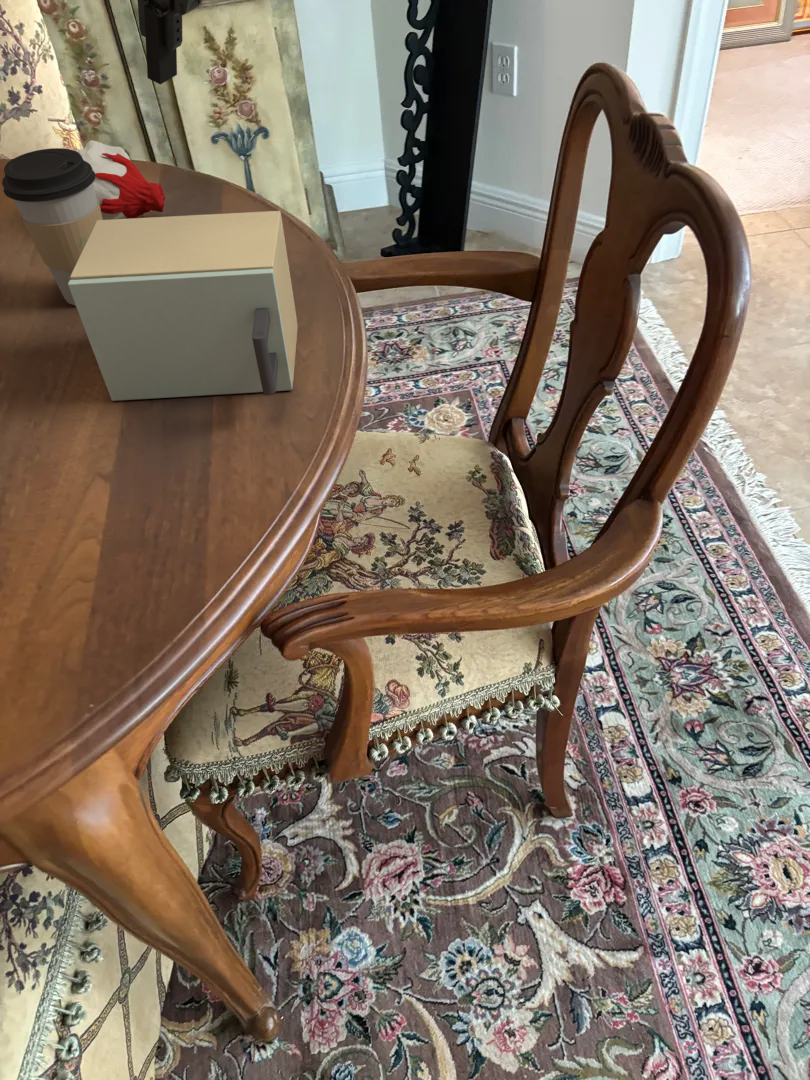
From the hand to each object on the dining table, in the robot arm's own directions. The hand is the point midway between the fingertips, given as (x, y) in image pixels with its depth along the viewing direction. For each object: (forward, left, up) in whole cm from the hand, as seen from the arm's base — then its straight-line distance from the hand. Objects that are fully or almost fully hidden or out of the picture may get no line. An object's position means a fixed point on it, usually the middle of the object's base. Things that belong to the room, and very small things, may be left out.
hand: (162, 76), depth 77 cm
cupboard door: (+2, -25, -22) cm, 33 cm away
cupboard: (+2, -16, -22) cm, 28 cm away
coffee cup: (-14, -1, -22) cm, 26 cm away
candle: (-14, +18, -22) cm, 32 cm away
